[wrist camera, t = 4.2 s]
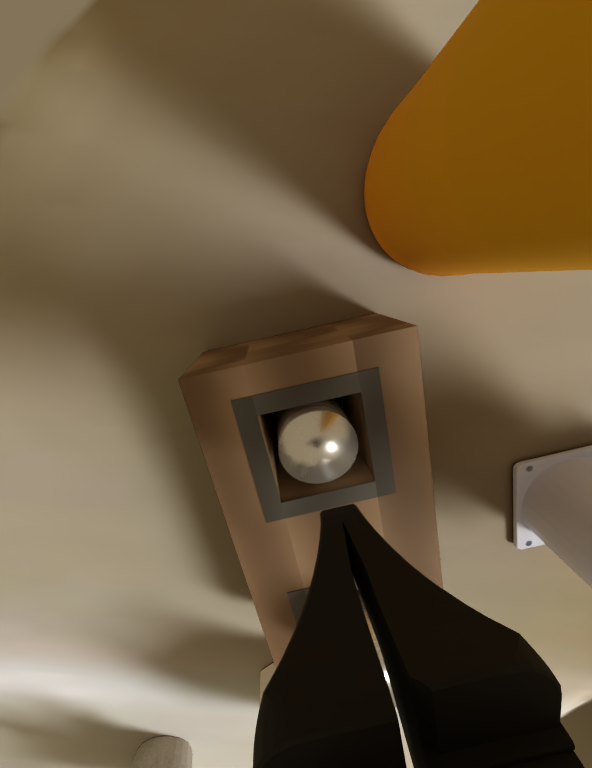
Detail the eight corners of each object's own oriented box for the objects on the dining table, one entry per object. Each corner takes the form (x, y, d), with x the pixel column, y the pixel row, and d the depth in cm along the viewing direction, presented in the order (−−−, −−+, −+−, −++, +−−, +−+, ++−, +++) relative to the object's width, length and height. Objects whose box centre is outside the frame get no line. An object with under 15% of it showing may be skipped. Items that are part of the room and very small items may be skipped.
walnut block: (376, 313, 21) (417, 325, 15) (411, 578, 27) (449, 657, 22) (203, 352, 21) (178, 380, 15) (281, 609, 27) (285, 696, 22)
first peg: (331, 372, 21) (351, 403, 16) (341, 428, 22) (363, 473, 17) (269, 386, 21) (270, 421, 16) (283, 441, 22) (288, 491, 17)
